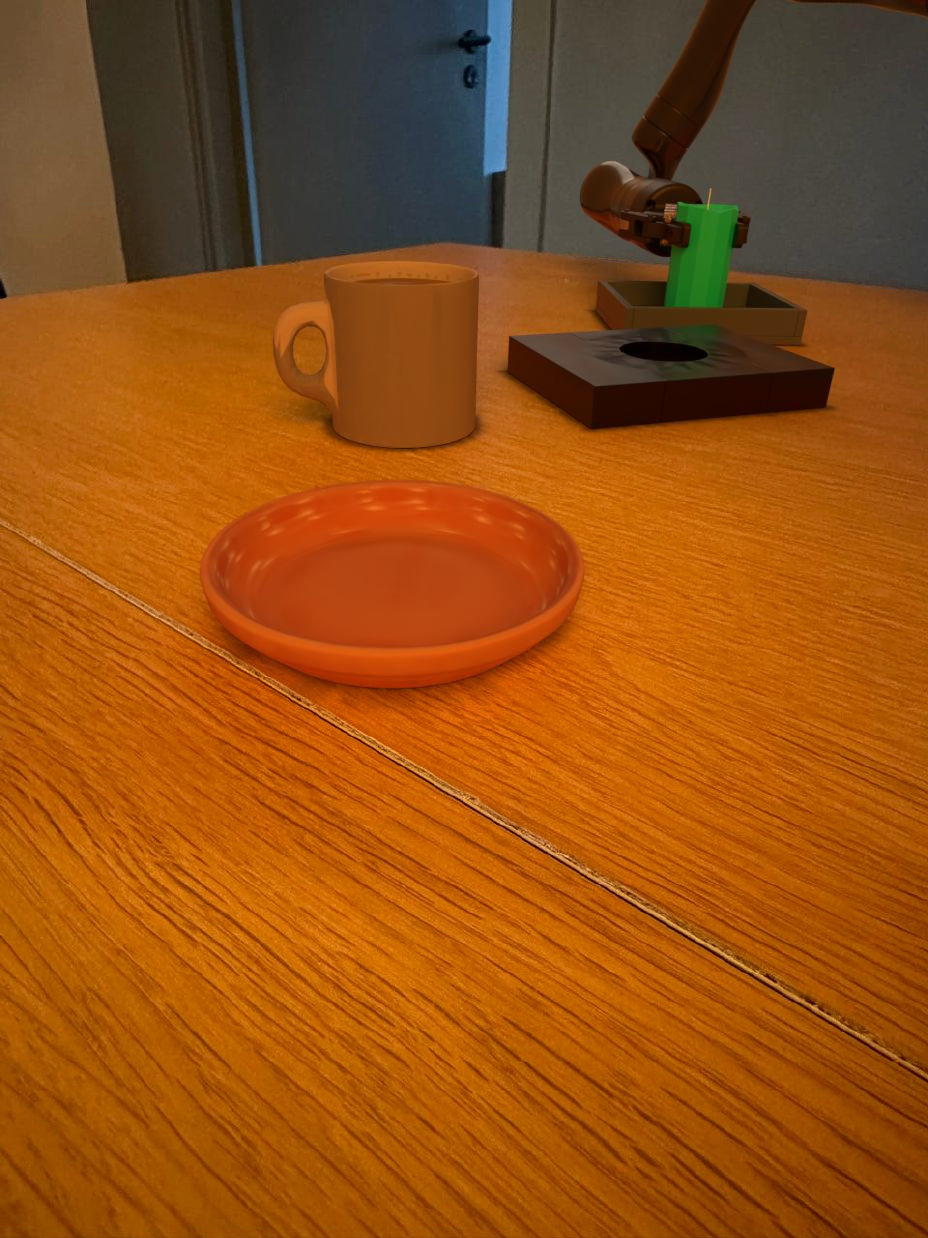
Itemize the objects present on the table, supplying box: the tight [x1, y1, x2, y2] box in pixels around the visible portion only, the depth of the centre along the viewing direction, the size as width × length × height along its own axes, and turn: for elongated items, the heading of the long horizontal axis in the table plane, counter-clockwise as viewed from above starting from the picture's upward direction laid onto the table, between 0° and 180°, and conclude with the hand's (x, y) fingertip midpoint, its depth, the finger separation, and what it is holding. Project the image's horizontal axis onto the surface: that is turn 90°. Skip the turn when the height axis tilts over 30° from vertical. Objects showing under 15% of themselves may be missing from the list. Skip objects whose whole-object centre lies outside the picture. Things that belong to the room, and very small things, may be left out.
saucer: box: [199, 479, 586, 689], centre depth 37 cm, size 16×16×3 cm
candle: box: [664, 187, 740, 307], centre depth 87 cm, size 6×6×12 cm
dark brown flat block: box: [506, 324, 836, 430], centre depth 69 cm, size 20×16×3 cm
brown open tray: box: [595, 279, 808, 346], centre depth 90 cm, size 18×16×3 cm
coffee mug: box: [272, 260, 480, 449], centre depth 58 cm, size 13×10×10 cm
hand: (713, 236), depth 84 cm, fingers closed on candle, 5 cm apart
